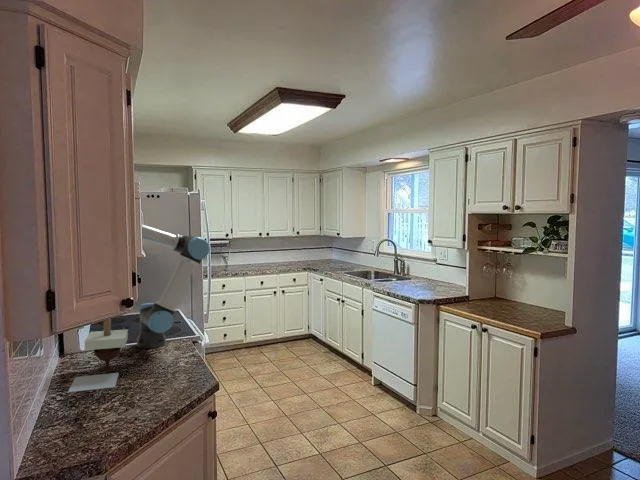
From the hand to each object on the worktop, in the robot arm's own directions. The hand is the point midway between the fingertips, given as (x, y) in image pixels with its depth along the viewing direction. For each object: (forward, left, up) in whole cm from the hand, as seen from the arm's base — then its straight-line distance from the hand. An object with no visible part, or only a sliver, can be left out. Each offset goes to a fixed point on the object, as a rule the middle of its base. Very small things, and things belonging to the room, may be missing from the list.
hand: (101, 288), depth 207 cm
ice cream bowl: (-4, +15, -35) cm, 39 cm away
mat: (-1, +31, -35) cm, 47 cm away
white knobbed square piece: (-4, +15, -23) cm, 28 cm away
